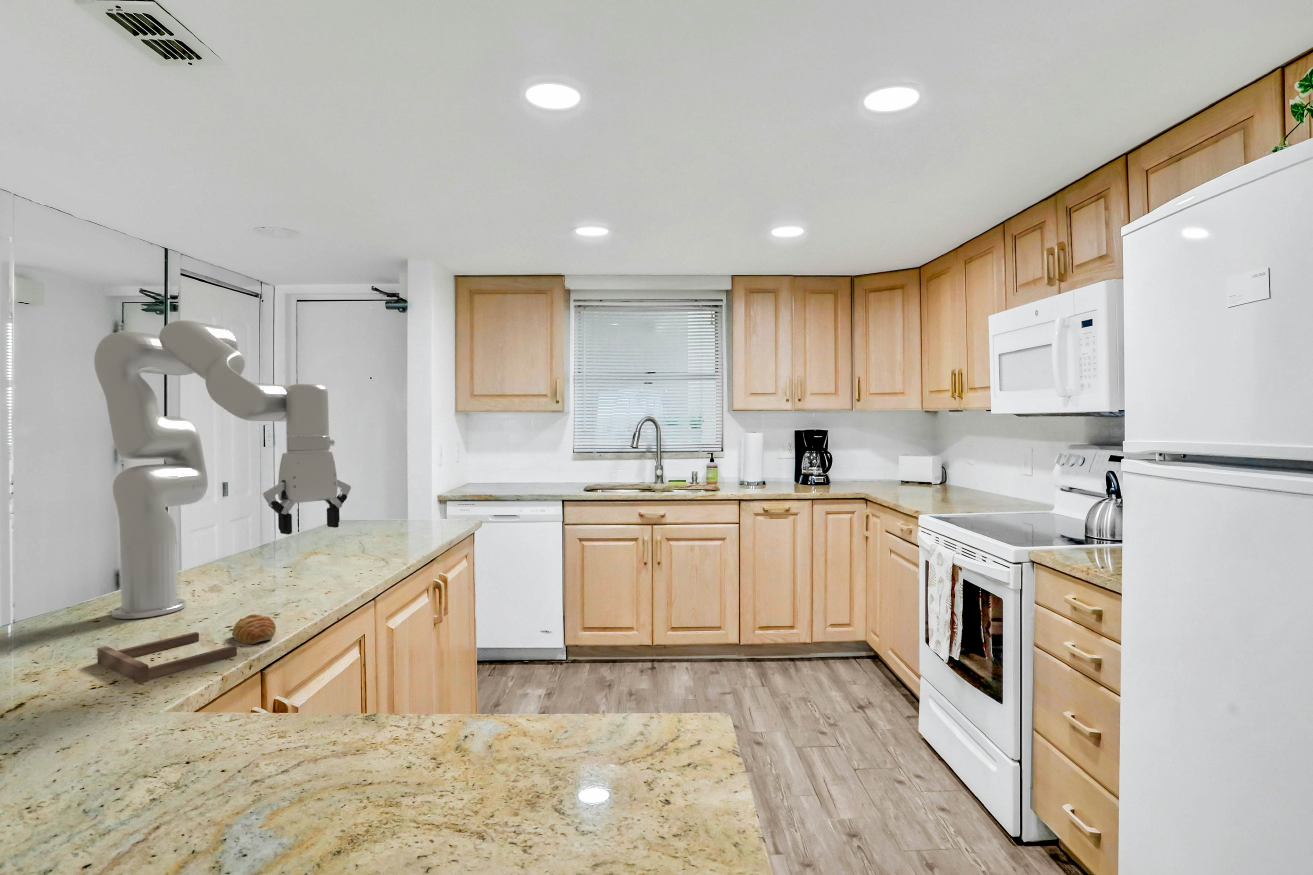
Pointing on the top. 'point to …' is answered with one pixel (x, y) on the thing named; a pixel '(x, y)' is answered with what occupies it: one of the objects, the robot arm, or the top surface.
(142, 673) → the bay
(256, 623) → the pastry
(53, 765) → the top surface
